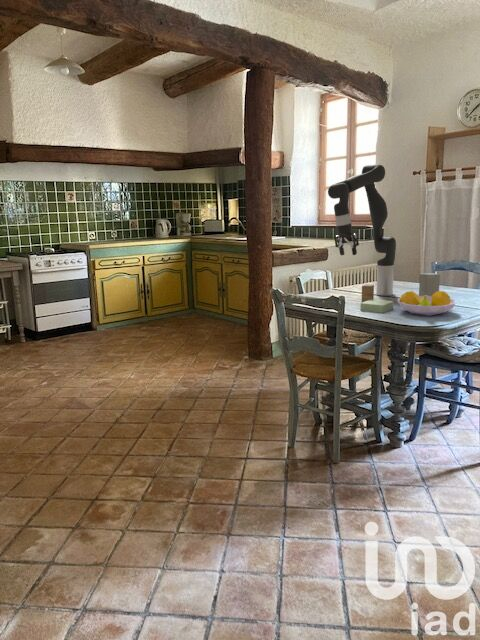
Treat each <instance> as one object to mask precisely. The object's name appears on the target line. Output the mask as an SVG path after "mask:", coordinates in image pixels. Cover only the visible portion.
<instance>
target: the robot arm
mask: <svg viewBox="0 0 480 640" xmlns="http://www.w3.org/2000/svg"><path fill="white" fill-rule="evenodd" d="M385 176H386V169H385V167H384V165H382V164H377V163H376V164H365V165H364V166H363V167H362V169H361V173H360V174H356V175H353V176H350V177H349V178H347V179H344V180H341V181H339V182H336V183H333V184H331V185H330V186H328V187H329V188H328V189H327V195H328V197H329V198H330V199H334V200H335V199H339V201H338V202H337V203H335V204H334V206H333V211H334V215H335V217H334V219H335V225H336V226H335V227H336V232H337V235H334V244H335V246H334V247H335V248H338V250H339V254H340V256H344V255H345V249H344V245H345V244H347V245H349V246H350V247H351V253H352V256H355V255H357V253H358V251H357V247H358V246H360V242H359V238H358V234H357V233H352V232H353V227H352V226H353V225H352V219H351V215H350V210H349V199H350V194H351V193H353V192H355V191H357V190H359V189H361V188H364V190H365V192H366V198H367V202H368V208H369V214H370V218H371V224H372V231H373V244H374V249H375V251H376V252H377V253H379V254H385V255H384V257H383V258H380V259H377V260H376V261H377V263H376V266H377V267H376V294H375V295H377V296H384V297H386V296H393V294H394V290H393V289H394V268H395V260H396V249H397V241H396V239H395V238H394V237H393V236H384V235H383V227H384V225H385V223H386V221H387V219H388V213H389V212H388V208H387V207H388V206H387V203H386V201H385V199H384V197H382V195H381V194H380V193H379V191H378V190H377V188H376V185H375V183H379V182H382V181H383V180H384V179H385Z"/></svg>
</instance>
